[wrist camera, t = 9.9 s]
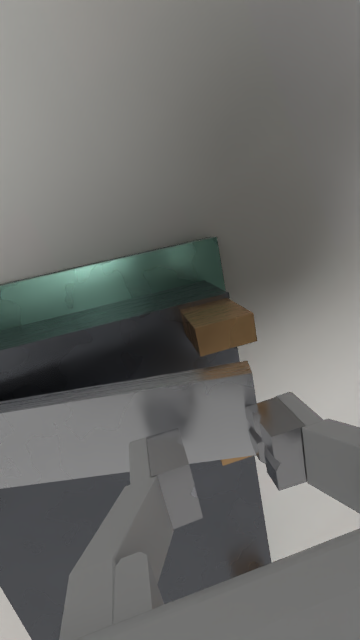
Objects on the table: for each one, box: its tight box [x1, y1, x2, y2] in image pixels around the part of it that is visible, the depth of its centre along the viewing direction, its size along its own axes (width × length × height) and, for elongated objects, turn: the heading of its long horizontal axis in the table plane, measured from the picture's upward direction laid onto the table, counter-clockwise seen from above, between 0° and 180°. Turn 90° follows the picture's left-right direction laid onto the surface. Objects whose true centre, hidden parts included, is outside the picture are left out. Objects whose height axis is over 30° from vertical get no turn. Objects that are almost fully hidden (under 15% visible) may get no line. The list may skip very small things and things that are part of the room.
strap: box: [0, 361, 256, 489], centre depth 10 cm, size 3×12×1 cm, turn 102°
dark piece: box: [0, 237, 271, 640], centre depth 16 cm, size 28×15×7 cm, turn 12°
